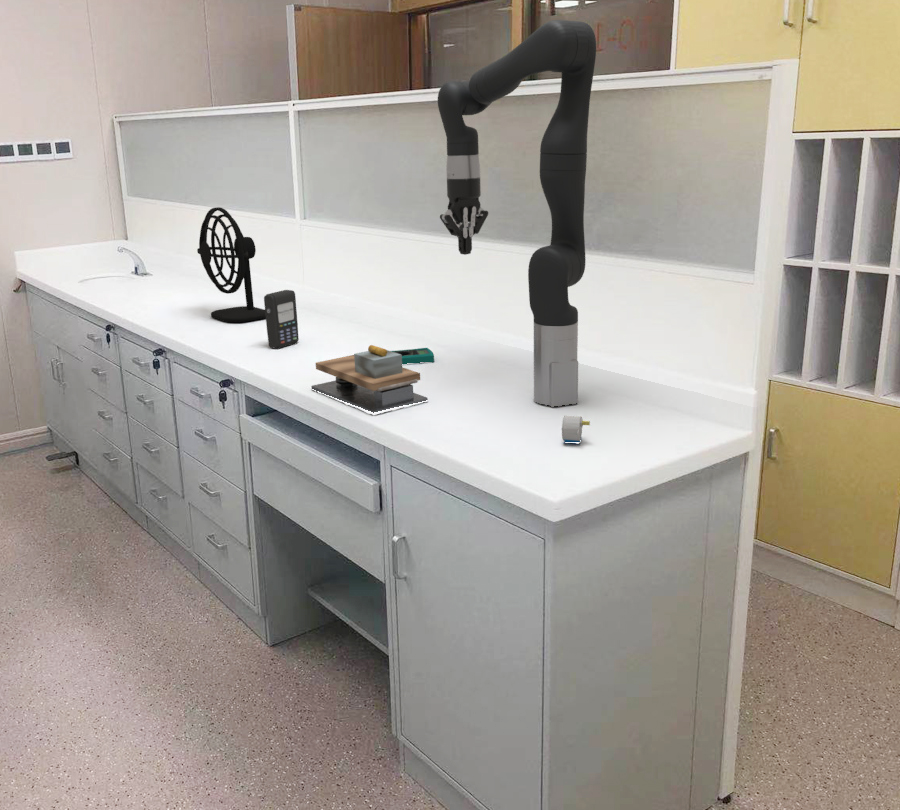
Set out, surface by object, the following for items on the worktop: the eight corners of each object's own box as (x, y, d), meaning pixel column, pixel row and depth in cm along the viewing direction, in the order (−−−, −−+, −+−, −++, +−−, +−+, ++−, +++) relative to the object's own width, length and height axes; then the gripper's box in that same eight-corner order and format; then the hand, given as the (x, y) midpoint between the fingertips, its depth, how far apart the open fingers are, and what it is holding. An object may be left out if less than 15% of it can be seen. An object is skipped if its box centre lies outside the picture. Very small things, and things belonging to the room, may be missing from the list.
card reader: (277, 350, 243) (272, 295, 238) (267, 348, 245) (261, 294, 240) (300, 343, 250) (296, 290, 245) (290, 341, 252) (285, 288, 247)
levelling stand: (427, 402, 193) (426, 381, 192) (373, 416, 185) (372, 394, 184) (363, 378, 213) (362, 359, 211) (311, 390, 205) (310, 370, 203)
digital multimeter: (373, 361, 229) (372, 350, 228) (429, 357, 232) (429, 346, 231) (377, 369, 222) (376, 357, 221) (435, 364, 225) (434, 352, 224)
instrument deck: (421, 382, 191) (420, 348, 189) (374, 393, 185) (372, 358, 182) (360, 361, 210) (358, 330, 208) (316, 370, 203) (313, 338, 201)
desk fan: (194, 315, 291) (181, 206, 281) (243, 307, 302) (232, 202, 291) (232, 328, 271) (219, 211, 261) (282, 319, 282) (272, 206, 271)
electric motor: (586, 449, 162) (587, 423, 161) (560, 447, 164) (560, 421, 162) (591, 436, 169) (591, 411, 167) (566, 435, 170) (566, 410, 169)
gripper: (450, 178, 192) (453, 258, 198) (496, 174, 200) (497, 252, 205) (429, 177, 198) (432, 255, 203) (475, 174, 206) (476, 249, 211)
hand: (465, 253), depth 204 cm, fingers closed
